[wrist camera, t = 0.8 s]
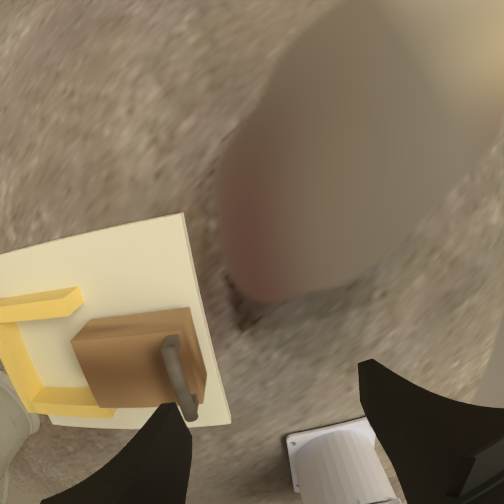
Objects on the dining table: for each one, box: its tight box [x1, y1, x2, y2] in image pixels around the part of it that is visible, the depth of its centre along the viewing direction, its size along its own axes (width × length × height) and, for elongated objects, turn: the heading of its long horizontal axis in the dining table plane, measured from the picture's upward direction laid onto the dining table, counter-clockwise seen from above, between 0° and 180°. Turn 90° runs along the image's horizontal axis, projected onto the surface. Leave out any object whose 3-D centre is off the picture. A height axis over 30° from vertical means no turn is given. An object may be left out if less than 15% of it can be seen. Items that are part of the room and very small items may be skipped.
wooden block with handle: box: [70, 307, 207, 422], centre depth 18 cm, size 5×7×6 cm
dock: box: [0, 212, 231, 429], centre depth 20 cm, size 16×17×3 cm
